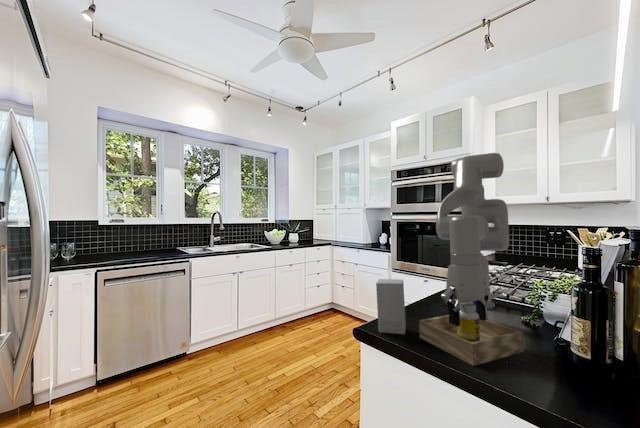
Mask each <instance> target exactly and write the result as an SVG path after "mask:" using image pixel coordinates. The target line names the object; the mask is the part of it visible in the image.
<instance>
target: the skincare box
mask: <svg viewBox="0 0 640 428" xmlns="http://www.w3.org/2000/svg"><path fill="white" fill-rule="evenodd" d="M375 286H376V290H375V291H376V304H377V306H376V309H377V324H378V325H377V327H378V328H377V329H378V333H383V334H395V335H396V334H398V335H405V334H406V329H407V328H406V327H407V326H406V322H407V321H406V307H405V302H406V301H405V290H404V289H405V287H404V279H396V278H395V279H392V278H385V279H384V278H378V280H377V282H376V283H375Z"/></svg>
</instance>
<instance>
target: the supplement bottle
mask: <svg viewBox="0 0 640 428" xmlns="http://www.w3.org/2000/svg"><path fill="white" fill-rule="evenodd" d="M459 309H460V310H458V311H459V312H460V326H458V336H459V337H461V338H463V339H465V340H468V341H470V342H476V341H480V327H479V315H478V314H477V313H476V312H475V311H476V305H475V304H472V303H461V305H460V307H459Z"/></svg>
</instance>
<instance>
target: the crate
mask: <svg viewBox="0 0 640 428" xmlns="http://www.w3.org/2000/svg"><path fill="white" fill-rule="evenodd" d="M418 324H419V325H418V326H419V328H418V329H419V330H418V332H419V338H420V339H421V340H424V341H426V342H428V343H429V344H431V345H433V346H434V347H437V348H439V349H440V350H443V351H444V352H446V353H448V354H450V355H452V356H453V357H455V358H456V359H457V358H458V359H460V360H461V361H463V362H465V363H467V364H469V365H471V366H472V367H473V366H478V365H482V364H485V363H486V364H487V363H489V362H492V361H493V362H494V361H496V360H499V359H503V358H507V357H510V356H513V355H517V354H522V353H524V352H525V350H524V349H525V347H524V332H523V331H521V330H518V329H516V328H511V327H509V326H507V325H502V324H500V323H498V322H494V321H492V320H485V321H483V320H480V319H479V327H480V341H476V342H470V341H468V340H465V339H463V338H461V337H459V336H458V326H455V325H453V324H451V323H449V314H446V315H441V316H435V317H431V318H426V319H419V321H418Z"/></svg>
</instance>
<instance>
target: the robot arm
mask: <svg viewBox="0 0 640 428" xmlns="http://www.w3.org/2000/svg"><path fill="white" fill-rule="evenodd" d="M450 171H451V174H452V176H453V178H454V179H453V191H452V190H451V192H450V193H448V194H447V195H446V196H445V197H444V198H443V199H442V200H441V202H440V203H439V205H438V207H437V212H436V220H435V221H436V223H435V229H436V234H437V237H438V238H439V239H441V240H444V241H449V252H450V255H449V256H450V264H449V265H448V266H447V273H446V286H445V288H446V289H445V291H443V292H442V293H441V295H440V298H441V299H442V301H443V304H444V306H445V307H446V309H447V310H448V315H449V323H451V324H453V325H455V326H460V312H459V311H460V310H459V309H460V305H461V303H468V302H474V301H475V302H476V304H475V305H476V311H475V312H476V313H477V314H478V315H479V319H480V320H483V321H485V320H486V308H485V306H487V310H491V309H494V308H495V306H496V304H495V303H494V302H493V301H492V300H494V299H497V298H498V295H497V294H496V293H491V288H490V269H489V267H490V266H489V260H488V259H487V257H486V256H485V255H484V254H483V253H482V252H484V251H488V252H489V251H490V252H491V251H493V252H502V251H506V250H508V248H509V246H510V227H509V226H510V225H509V211H508V204H507V203H506V202H505V201H504V200H503V199H500V198H499V199H498V198H491V199H486V198H485V187H484V185H483V180H484V179H486V180H487V179H493V178H494V179H495V178H500V177H501V176H502V175H503V174H504V159H503V157H502V155H501V154H500V152H499V153H498V152H490V153H489V152H488V153H482V154H481V153H480V154H474V155H473V154H472V155H467V156H463V157H461V158H460V157H459V158H457V159H456V158H455V159H454V160H453V161H451V163H450ZM458 208H460V211H461V215H449V214H450V213H451V212H453V211H454V210H456V209H458ZM490 224H492V225H494V226H490ZM484 283H485V284H484ZM454 303H455V304H454Z"/></svg>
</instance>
